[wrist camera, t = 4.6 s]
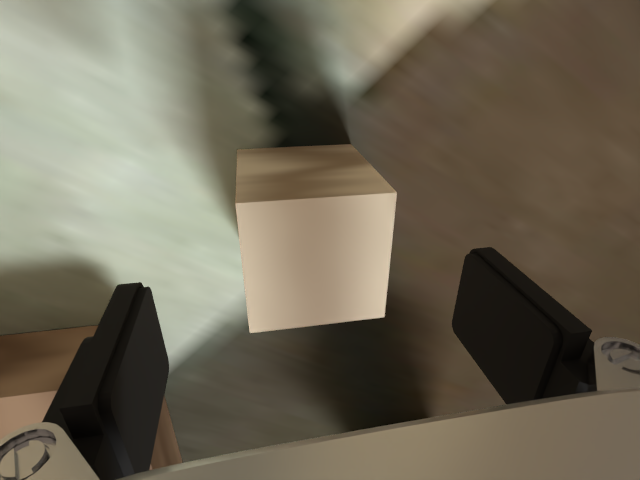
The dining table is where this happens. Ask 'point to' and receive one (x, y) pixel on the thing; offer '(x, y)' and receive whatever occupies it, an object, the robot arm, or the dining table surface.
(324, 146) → the birch block
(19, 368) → the walnut block
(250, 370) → the dining table surface
